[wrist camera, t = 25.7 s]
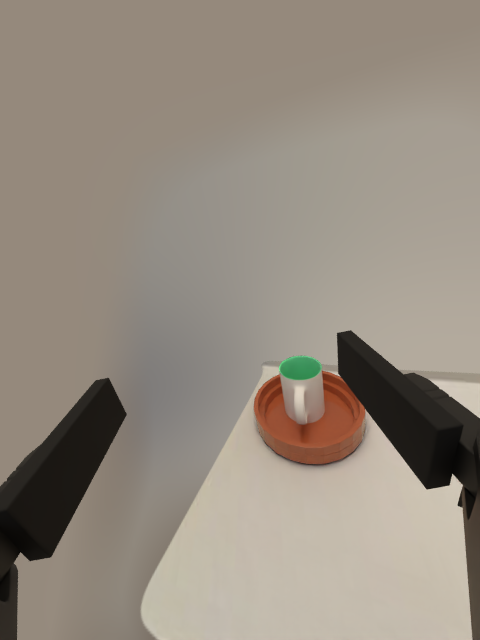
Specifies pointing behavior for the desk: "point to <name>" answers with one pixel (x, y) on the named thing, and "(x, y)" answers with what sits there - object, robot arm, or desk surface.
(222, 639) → the desk surface
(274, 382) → the bowl
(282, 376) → the mug
